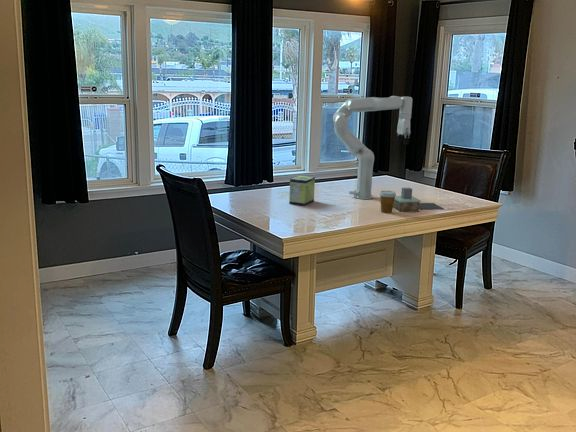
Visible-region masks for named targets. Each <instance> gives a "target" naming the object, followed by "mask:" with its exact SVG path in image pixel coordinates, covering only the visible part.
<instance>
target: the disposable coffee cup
mask: <svg viewBox="0 0 576 432" xmlns="http://www.w3.org/2000/svg"><path fill="white" fill-rule="evenodd" d="M395 196H397V194H396V192H395V191H392V190H381V191H380V193H379V197H380V210H381V211H380V212H381V213H383V214H391V213H393V209H394V208H393V204H394V199H395Z"/></svg>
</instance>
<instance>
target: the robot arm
mask: <svg viewBox="0 0 576 432" xmlns="http://www.w3.org/2000/svg"><path fill="white" fill-rule="evenodd" d="M398 109H399V113H398V120H397V121H398V122H397V129H396V134H397V140H396V141H397V143H403V145H409V143H410V136H411V133H412V131H411V119H412V109H413V98H412V97H411V96H397V95H391V96H389V97H376V96H372V97H371V96H370V97H361V98H348V99H347V100H345V101H344V103H343V104H342V105H341V106H340V107H339V108H338V109H337V110H336V112H334V114H333V116H332V121H333V123H334V124H333V129H334V134H335V135H336V137H337V138H338V140H340V142H342V143H343V144H344V146H345V148H346V149H347V151H349V152H350V153H351V155H353V156H354V157H355V158H356V159H357V160H358V165H357V180H356V189H354V190H353V191H351V190H350V191H349V192H348V194H349V195H353V197H354V198H355V199H359V200H371V199H374V195H373V194H372V185H373V184H372V183H373V170H374V162H375V154H374V151H372V149H369V148H368V147H367V146H366V145H365V144H364V143H363V142H362V140H360V139H359V137H357V136H356V135H355V134H354V133H353V132H352V130H350V129H349V126H348V122H349V118H350V116H351V115H353V114H354V113H364V112H377V111H378V112H379V111H388V110H389V111H390V110H398ZM403 136H404V138H403Z"/></svg>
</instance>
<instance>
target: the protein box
mask: <svg viewBox="0 0 576 432" xmlns="http://www.w3.org/2000/svg"><path fill="white" fill-rule="evenodd" d="M315 180H316V178H315V177H314V176H310V175H308V176H307V175H301V174H300V175H297V176H295V177H292V178H290V179H289V196H288V197H289V200H288V202H289V205H295V206H296V205H297V206H303V207H304V206H307V205H308V204H311V203H313V202H314V201H315V188H316V187H315V183H316V181H315Z"/></svg>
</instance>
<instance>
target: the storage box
mask: <svg viewBox="0 0 576 432" xmlns="http://www.w3.org/2000/svg"><path fill="white" fill-rule="evenodd" d="M419 203H421V202H399V201H397V200H395V199H394V204H393V209H394V210H395V211H397V210H398V211H397V212H399V213H412V212H413V213H417V212H420V209H419Z"/></svg>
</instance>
